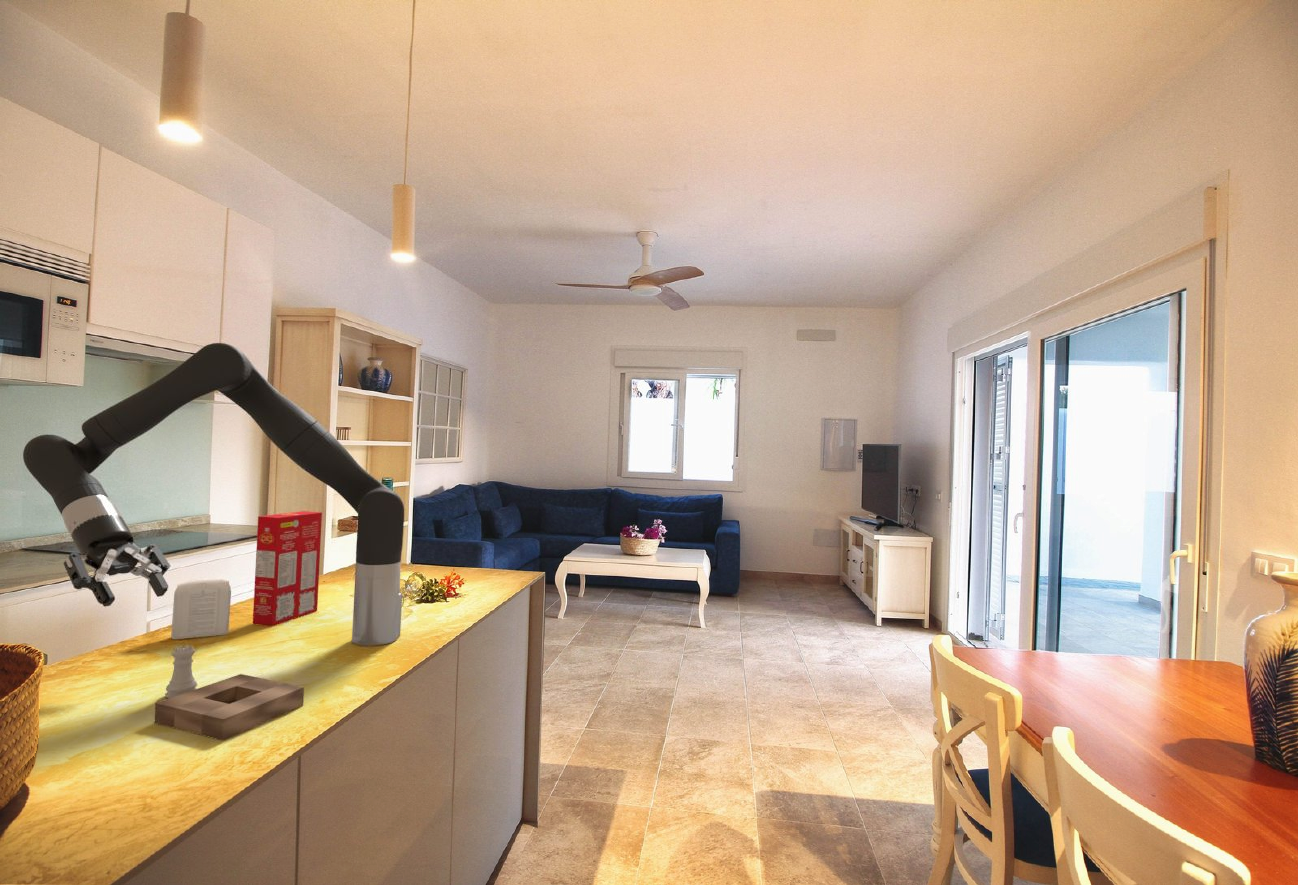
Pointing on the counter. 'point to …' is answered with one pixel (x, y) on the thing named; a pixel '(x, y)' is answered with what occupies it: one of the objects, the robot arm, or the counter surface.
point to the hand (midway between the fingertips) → (137, 598)
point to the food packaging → (286, 567)
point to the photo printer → (201, 608)
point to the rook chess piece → (181, 672)
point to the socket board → (229, 706)
